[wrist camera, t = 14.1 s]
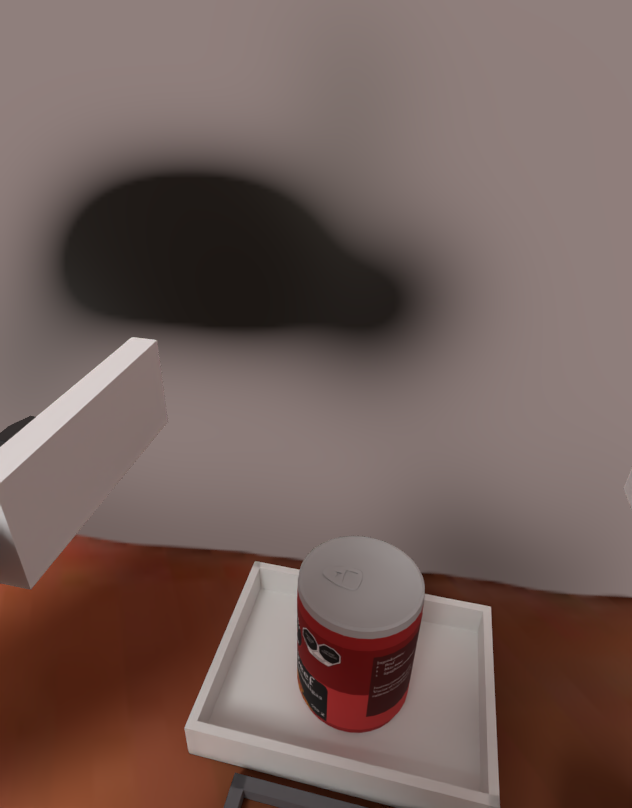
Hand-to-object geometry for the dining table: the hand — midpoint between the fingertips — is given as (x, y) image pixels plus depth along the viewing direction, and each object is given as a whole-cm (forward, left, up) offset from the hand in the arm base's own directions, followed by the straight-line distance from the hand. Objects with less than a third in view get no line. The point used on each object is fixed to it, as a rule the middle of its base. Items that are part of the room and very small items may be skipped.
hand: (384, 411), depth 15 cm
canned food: (-1, +11, -31) cm, 33 cm away
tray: (-1, +11, -31) cm, 33 cm away
